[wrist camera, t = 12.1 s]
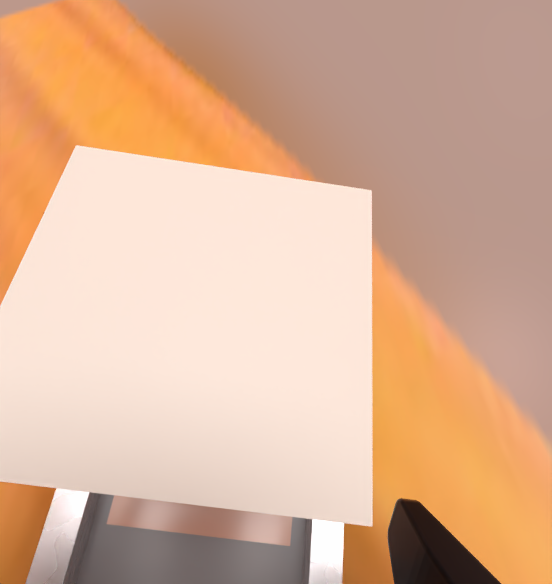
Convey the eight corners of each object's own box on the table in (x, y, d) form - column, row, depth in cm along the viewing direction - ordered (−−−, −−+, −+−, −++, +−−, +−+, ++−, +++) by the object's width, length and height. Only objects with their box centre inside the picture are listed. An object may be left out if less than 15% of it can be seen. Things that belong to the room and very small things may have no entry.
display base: (138, 297, 22) (125, 269, 19) (337, 325, 23) (351, 301, 20) (50, 588, 16) (15, 605, 13) (325, 620, 16) (343, 642, 14)
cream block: (278, 510, 17) (372, 527, 6) (130, 492, 16) (-78, 472, 5) (291, 368, 19) (371, 190, 8) (165, 351, 19) (76, 145, 8)
